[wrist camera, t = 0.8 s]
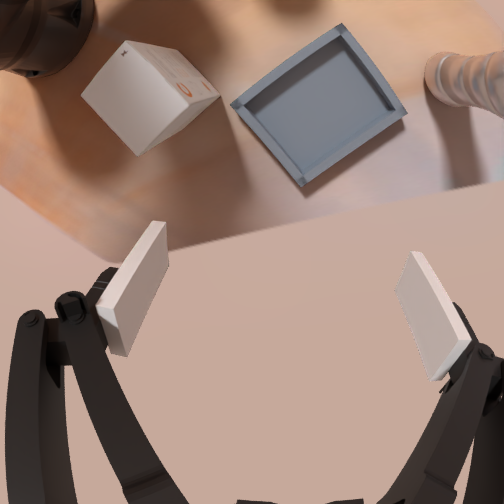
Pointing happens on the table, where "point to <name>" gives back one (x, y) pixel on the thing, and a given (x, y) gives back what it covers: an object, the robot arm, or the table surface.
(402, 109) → the tray
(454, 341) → the robot arm
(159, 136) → the small box
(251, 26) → the table surface
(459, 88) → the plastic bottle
